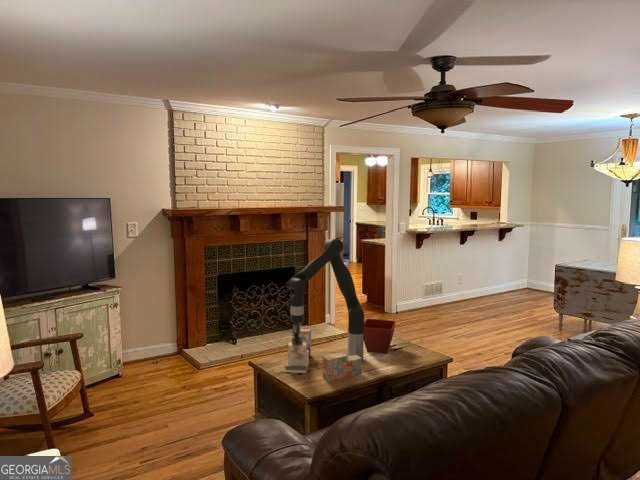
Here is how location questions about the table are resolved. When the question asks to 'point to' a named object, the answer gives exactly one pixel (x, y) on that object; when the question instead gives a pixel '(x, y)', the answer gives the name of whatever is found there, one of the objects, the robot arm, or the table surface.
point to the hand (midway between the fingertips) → (297, 342)
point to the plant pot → (378, 335)
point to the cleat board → (298, 365)
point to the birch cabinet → (297, 349)
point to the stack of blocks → (341, 366)
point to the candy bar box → (305, 338)
